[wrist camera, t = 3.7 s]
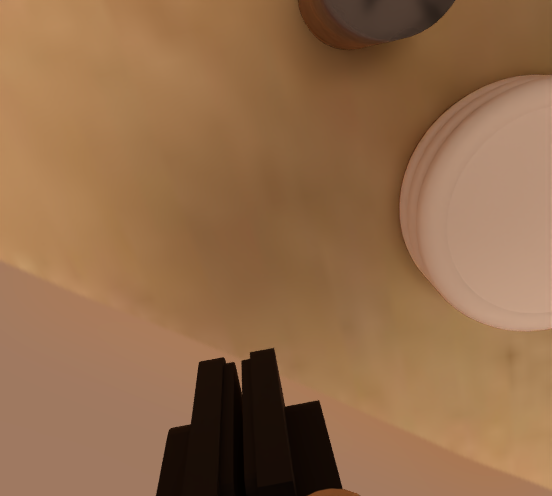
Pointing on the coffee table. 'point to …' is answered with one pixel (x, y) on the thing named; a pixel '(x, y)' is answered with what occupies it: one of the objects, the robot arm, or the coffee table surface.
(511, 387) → the coffee table surface
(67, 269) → the coffee table surface
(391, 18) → the posts
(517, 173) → the coaster
